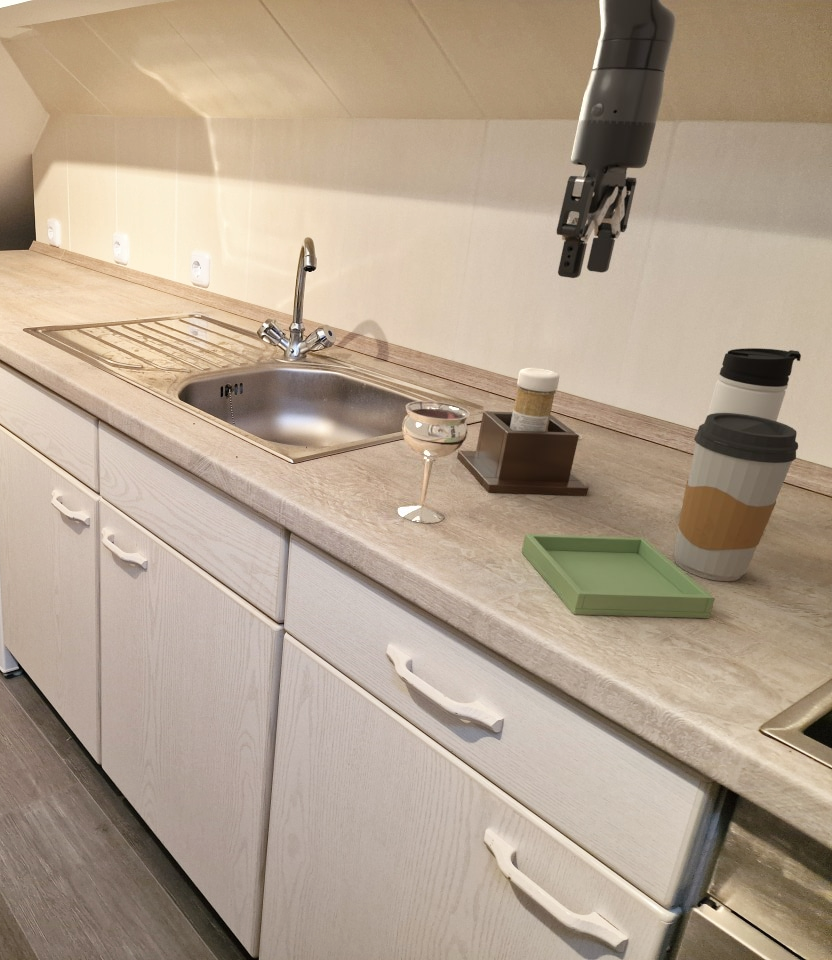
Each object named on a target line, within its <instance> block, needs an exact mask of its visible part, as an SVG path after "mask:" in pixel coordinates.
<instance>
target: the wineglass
mask: <svg viewBox="0 0 832 960" xmlns="http://www.w3.org/2000/svg"><path fill="white" fill-rule="evenodd" d="M405 411H406V413H407V414H406V415H405V417H404V418H403V420H402V424H401V427H402V429H401V430H402V431H401V432H402V436H403V440H404V442H405V443H406V444H407V445H408V446H409V448H410V449H411V450H412V451H414V452H415V453H417V454H418V455H420V456H421V458H422V459H423V461H424V470H423V478H422V488H421V494H420V495H421V496H420V503H419V504H406V505H402V506H400V507H399V508H398V509H397V512H398V514H399V515H400V516H401V517H402V518H404V519H406V520H409V521H412V522H416V523H422V524H434V523H439V522H441V521H443V520H444V519H445V516H444V514H443V513H442V512H441V511H439V510H438V509H436V508H434V507H431V506H428V505H425V502H426V499H427V498H426V497H427V492H428V488H429V483H430V478H431V473H432V468H433V463H434V462H436V461H437V460H438V459H439V458H442V457H447V456H450V455H451V454H453V453H454V452H456V451H457V450H459V449H460V448H461V447H462V446H463V444H464V442H465V441H466V439H467V437H468V436H467V435H468V426H467V423H466V421H467V418H468V417H469V416H470V415H471V413H470V411H469V410H468V409H466V408H464V407H462V406H459V405H455V404H451V403H448V402H443V401H435V400H416V401H412V402H408V403H407V404H405Z"/></svg>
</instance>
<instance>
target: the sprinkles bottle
mask: <svg viewBox="0 0 832 960" xmlns="http://www.w3.org/2000/svg"><path fill="white" fill-rule="evenodd" d="M559 382H560V374H559V373H558V372H556V371H553V370H550V369H546V368H539V367H526V368H521V369H520V370H519V372H518V377H517V382H516V383H517V387H516V388H517V390H516V396H515V400H514V401H515V402H514V406H513V408H512V412H513V413H512V419H511V424H510V428H511V429H512V430H514V431H541V432H548V424H549V419H550V414H552V410H553V403H554V398H555V395H556V393H557V392H556V391H557V390H558V386H559Z"/></svg>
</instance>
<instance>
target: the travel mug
mask: <svg viewBox="0 0 832 960" xmlns="http://www.w3.org/2000/svg"><path fill="white" fill-rule="evenodd" d="M801 357H802V355H801V353H800V351H799V350H793V349H790V350H783V349H775V348H762V347H761V348H756V347H755V348H754V347H753V348H752V347H749V348H748V347H747V348H746V347H745V348H735V349H730V350H727V353H725V354H724V356H723V361H722V364H721V365H722V367H721V368H720V371H719V373H718V377H717V380H716V383H715V386H714V390H713V393H712V397H711V401H710V404H709V408H708V410H707V415H706V417H707V416H708V415H710V414H714V413H735V414H744V415H750V416H756V417H761V418H766V419H770V420H773V421H777V420H778V418H779V414H780V412H781V408H782V405H783V402H784V398H785V395H786V390H787V389H788V387H789V380H790V376H791V374H792V371H793V365H794V361H795V360H796V362H801ZM777 422H778V421H777ZM682 504H683V502H682V503H681V506H680V509H679V513H678V515H679V517H680V514H681V509H682Z"/></svg>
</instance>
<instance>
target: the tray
mask: <svg viewBox="0 0 832 960" xmlns="http://www.w3.org/2000/svg"><path fill="white" fill-rule="evenodd" d="M521 553H522V554H523V556H524V557H525V558H526V560H528V562H529V563H530V564H531V565H532V566H533V567H534V569H535V570H536V571H537V572H538V573H539V575H540V576H541V577H542V578H543V580H544V581H545V582H546V583H547V584H548V585H549V587H550V588H551V589H552V591H554V593H555V594H556V595H557V596H558V597H559V598H560V600H561V601H562V602H563V603H564V605H566V607H567V608H568V609H569V610H570V612H571V613H572V614H573V615H586V616H614V617H615V616H616V617H617V616H618V617H619V616H621V617H651V618H652V617H653V618H654V617H655V618H683V619H685V618H687V619H690V618H691V619H709V618H710V615H711V611H712V609H713V605H714V602H715V600H716V598H715V596H713V595H712V594H711V593H710V592H708V591H707V589H705V588H704V587H703V586H702V585H701V584H699V583H698V582H697V581H696V580H694V578H692V577H691V576H690V575H688V574H687V572H686V571H685V570H684V569H682V568H681V567H680V566H678V565H677V564H676V563H674V562H673V561H672V560H671V559H670V558H668V557H667V555H665V554H664V553H663V552H661V551H660V550H659V549H658V548H657V547H656V546H654V545H653V544H652V543H651V542H650V541H649V540H647V539H646V538H645V537H633V536H632V537H631V536H607V535H606V536H602V535H577V534H575V535H574V534H573V535H572V534H546V533H545V534H541V533H525V534H524V539H523V543H522V549H521Z"/></svg>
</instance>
